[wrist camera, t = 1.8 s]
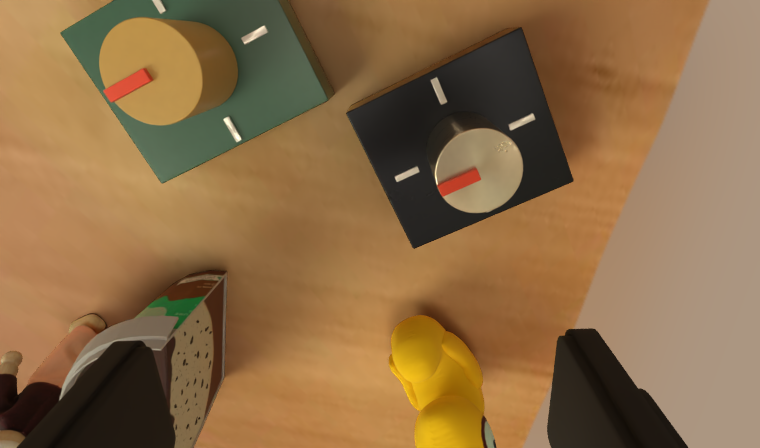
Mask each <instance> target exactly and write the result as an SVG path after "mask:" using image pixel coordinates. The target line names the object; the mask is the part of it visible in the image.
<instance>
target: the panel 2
mask: <svg viewBox="0 0 760 448" xmlns="http://www.w3.org/2000/svg"><path fill="white" fill-rule="evenodd" d="M458 112H472V113H476V114H479V115H481V116H483V117H485V118H486V119H487V120H489V121H490V122H491V123H492V124H493V125H495V126H496V127H497V128H498V129H500V130H501V131H502V132H503V133H505V134H506V135H507V136H508V137H509V138H511V139H512V140H513V142H514V143H515V144H516V145H517V147H518V149H519V151H520V153H521V156H522V160H523V175H522V179H521V182H520V185H519V187H518V189H517V190H516V192H515V193H514V195H513V196H512V197H511V198H510V199H509V200H508V201H507V202H506V203H504V204H503V205H501V206H500V207H498V208H496V209H494V210H491V211H488V212H483V213H469V212H464V211H461V210H458V209H456V208H454V207H453V206H451V205H450V204H449V203H447V202H446V201H445V199H444V198H443V197H442V196H441V194H440V192H439V190H438V188H437V185H436V182H435V179H434V176H433V173H432V170H431V167H430V164H429V161H428V157H427V143H428V139H429V136H430V134H431V132H432V130H433V129H434V127H435V126H436V125H437V124H438V123H439V122H440V121H441V120H443V119H444V118H445V117H447V116H449V115H452V114H454V113H458ZM346 114H347V116H348V118H349V120H350V122H351V124H352V126H353V128H354V130H355V132H356V134H357V136H358V138H359V140H360V142H361V144H362V146H363V148H364V150H365V152H366V154H367V156H368V158H369V161H370V163H371V165H372V167H373V169H374V171H375V173H376V175H377V177H378V179H379V181H380V183H381V185H382V187H383V189H384V191H385V193H386V195H387V197H388V199H389V201H390V203H391V205H392V207H393V209H394V211H395V213H396V215H397V217H398V219H399V221H400V223H401V225H402V227H403V229H404V231H405V233H406V235H407V237H408V239H409V241H410V243H411V245H412V247H413V248H414V249H415V248H417V247H419V246H422V245H424V244H427V243H429V242H431V241H434V240H436V239H438V238H441V237H443V236H446V235H448V234H450V233H453V232H455V231H457V230H460V229H462V228H464V227H467V226H469V225H472V224H474V223H476V222H479V221H481V220H483V219H486V218H488V217H491V216H493V215H495V214H498V213H500V212H502V211H505V210H507V209H509V208H512V207H514V206H517V205H519V204H521V203H524V202H526V201H528V200H531V199H533V198H535V197H538V196H540V195H543V194H545V193H547V192H550V191H552V190H554V189H557V188H559V187H562V186H564V185H566V184H569V183H571V182H573V177H572V174H571V171H570V168H569V165H568V162H567V159H566V156H565V154H564V151H563V148H562V145H561V142H560V139H559V136H558V133H557V130H556V127H555V124H554V121H553V118H552V115H551V112H550V109H549V106H548V103H547V101H546V98H545V95H544V92H543V89H542V86H541V83H540V80H539V77H538V74H537V71H536V68H535V65H534V62H533V59H532V56H531V53H530V50H529V48H528V45H527V42H526V39H525V36H524V33H523V30H522V28H521V27H517V28H507V29H505V30H503V31H501V32H498V33H496V34H494V35H492V36H490V37H488V38H486V39H484V40H482V41H480V42H478V43H476V44H474V45H472V46H470V47H468V48H466V49H464V50H462V51H460V52H458V53H456V54H454V55H452V56H450V57H448V58H446V59H444V60H442V61H440V62H438V63H436V64H434V65H432V66H430V67H428V68H426V69H424V70H422V71H420V72H418V73H416V74H414V75H412V76H410V77H408V78H406V79H403V80H401V81H399V82H397V83H395V84H393V85H391V86H389V87H387V88H385V89H383V90H381V91H379V92H377V93H375V94H373V95H371V96H369V97H367V98H365V99H363V100H361V101H359V102H357V103H355V104H353V105H351V106H350V108H349V110H348V111H347V113H346Z"/></svg>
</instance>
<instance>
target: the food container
mask: <svg viewBox="0 0 760 448" xmlns="http://www.w3.org/2000/svg"><path fill="white" fill-rule="evenodd" d="M226 297H227V271H214V270H209V271H204V272H199V273H194V274H190V275H188V276H186V277H184V278H183V279H181V280H179V281H177V282H175V283H174V284H172V285H171V286H170V287H169V288H168V289H167V290H166V291H164V292H163V293H162V294H161V295H160V296H159V297H158V298H157V299H155V300H154V301H153V302H152V303H151V304H150V305H149V306H147V307H146V308H145V309H144V310H143V311H142V312H141V313H139V314H138V315H137V316H136V317H135V318H134V319H131V320H126V321H123V322H121V323H118V324H116V325H113V326H111V327H109V328H107V329H106V330H104V331H102V332H101V333H99V334H97V335H96V336H95V337H94V338H93V339H92V340H91V341H90V342H89V343H88V344H87V345H86V346H85V347H84V349H83V350H82V351H81V353H80V354H79V356H78V357H77V359H76V361H75V363H74V364H73V366H72V368H71V370H70V371H69V373H68V375H67V377H66V379H65V382H64V384H63V386H62V392H61V396H60V399H61V398H62V397H63V396H64V395H65V394H66V393H67V392H68V391H69V390H70V388H71V387H72V386H73V385H74V384H75V383H76V382H77V381H78V380H79V379H80V378H81V376H82V375H83V374H84V373H85V372H86V371H87V370H88V369H89V368H90V367H91V366H92V364H93V363H94V362H95V361H96V360H97V359H98V358H99V357H100V356H101V355H102V353H103V352H104V351H105V350H106V349H107V348H108V347H109V346H110V345H111V344H112V343H113V342H116V341H137V340H140V341H143V342H144V343H145V345H146V347H150V348H151V349H152V351H153V353H154V357H155V361H156V364H157V368H158V372H159V375H160V379H161V383H162V386H163V390H164V394H165V397H166V401H167V404H168V408H169V412H170V415H171V419H172V423H173V426H174V430H175V435H176V441H175V446H174V448H194V446H195V444H196V441H197V439H198V437H199V435H200V432H201V430H202V428H203V426H204V423H205V421H206V419H207V416H208V414H209V412H210V410H211V407H212V405H213V403H214V400H215V398H216V396H217V394H218V391H219V389H220V387H221V384H222V382H223V380H224V372H225V334H226ZM60 399H59V401H60Z"/></svg>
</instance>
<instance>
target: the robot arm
mask: <svg viewBox="0 0 760 448" xmlns="http://www.w3.org/2000/svg"><path fill="white" fill-rule="evenodd" d="M547 432H548V439H549V443H550V445H551V448H688V446H687V445H686V444H685V442H684V441H683V440H682V438H681V437H680V436H679V434H678V433H677V431H676V430H675V429H674V427H673V426H672V425H671V423H670V422H669V420H668V419H667V418H666V416H665V415H664V414H663V412H662V411H661V409H660V408H659V407H658V406H657V404H656V403H655V401H654V400H653V399H652V397H651V396H650V395H649V394H648V393H647V392H646V391H645V390H643V389H638V388H637V386H636V385H635V384H634V382H633V381H632V379H631V378H630V377H629V375H628V374H627V372H626V371H625V370H624V368H623V367H622V365H621V364H620V363H619V361H618V360H617V358H616V357H615V355H614V354H613V353H612V351H611V350H610V349H609V347H608V346H607V344H606V343H605V341H604V340H603V339H602V337H601V336H600V334H599V333H598V332H597V331H596V330H595V329H568V330H567V331H566V333H565V336H559V337H558V340H557V347H556V356H555V365H554V373H553V382H552V391H551V400H550V408H549V417H548V425H547ZM175 441H176V435H175V430H174V426H173V423H172V419H171V415H170V412H169V408H168V404H167V401H166V397H165V394H164V390H163V386H162V383H161V379H160V375H159V372H158V368H157V364H156V361H155V357H154V353H153V351H152V349H151V348H150V347H146V345H145V343H144V342H143V341H140V340H137V341H116V342H113V343H112V344H111V345H110V346H109V347H108V348H107V349H106V350H105V351H104V352H103V353H102V355H101V356H100V357H99V358H98V359H97V360H96V361H95V362H94V363H93V364H92V366H91V367H90V368H89V369H88V370H87V371H86V372H85V373H84V374H83V375H82V376H81V378H80V379H79V380H78V381H77V382H76V383H75V384H74V385H73V386H72V387H71V388H70V390H69V391H68V392H67V393H66V394H65V395H64V396H63V397H62V398H61V399H60V401H59V402H58V403H57V404H56V405H55V406H54V407H53V408H52V409H51V410H50V411H49V413H48V414H47V415H46V416H45V417H44V418H43V419H42V420H41V421H40V422H39V424H38V425H37V426H36V427H35V428H34V429H33V430H32V431H31V432H30V433H29V434H28V436H27V437H26V438H25V439H24V440H23V441H22V442H21V443H20V444H19V445H18V446H17V448H174V446H175Z"/></svg>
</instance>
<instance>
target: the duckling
mask: <svg viewBox="0 0 760 448" xmlns="http://www.w3.org/2000/svg"><path fill="white" fill-rule="evenodd" d="M391 349H392V354H391V355H390V357H389V366H390V369H391V371H392V372H393V373H394V375H395V376H396V377H397V378H398V379H399V380H400V382H401V383H402V385H403V387H404V389H405V392H406V394H407V396H408V399H409V401H410V402H411V404H412V405H413V407H414V408H415V409H417V410H418V411H421V412H420V413H419V415H418V417H417V420H416V424H415V445H416V448H496V443H495V439H494V436H493V433H492V430H491V428H490V426H489V424H488V422H487V420H486V418H485V417H484V398H483V394H482V390H481V386H482V383H483V376H482V372H481V369H480V366H479V364H478V362H477V360H476V358H475V357H474V355H473V354H472V353H471V351H470V350H469V349H468V347H467V346H466V345H465V343H464V342H463V341H462V340H461V339H459V338H458V337H457V336H456V335H454V334H453V333H451V332H448V331H446V330H445V329H444V328H443V327H442V326H441V325H440V324H439V323H438V322H437V321H436V320H434V319H433V318H431V317H428V316H425V315H417V316H413V317H410V318H407V319H405V320H404V321H402V322H401V323H399V324H398V325H397V326H396V327H395V329H394V331H393V333H392V337H391Z"/></svg>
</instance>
